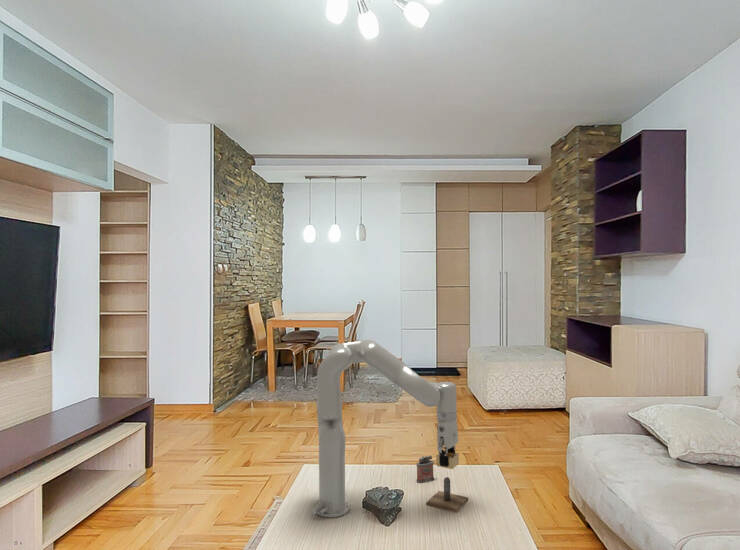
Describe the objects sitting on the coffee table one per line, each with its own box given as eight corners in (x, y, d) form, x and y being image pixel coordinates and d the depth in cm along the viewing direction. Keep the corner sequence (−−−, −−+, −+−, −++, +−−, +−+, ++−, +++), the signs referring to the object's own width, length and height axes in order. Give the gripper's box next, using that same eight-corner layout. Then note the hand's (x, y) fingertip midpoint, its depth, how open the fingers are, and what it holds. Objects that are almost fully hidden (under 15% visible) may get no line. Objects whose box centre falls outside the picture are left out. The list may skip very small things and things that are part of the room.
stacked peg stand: (456, 512, 179) (456, 486, 179) (426, 505, 185) (425, 479, 185) (467, 500, 189) (467, 475, 189) (438, 493, 195) (438, 469, 195)
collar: (452, 469, 183) (452, 458, 183) (436, 466, 186) (436, 455, 186) (458, 463, 188) (458, 453, 188) (443, 460, 192) (442, 450, 192)
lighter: (419, 483, 205) (419, 459, 205) (415, 480, 208) (414, 457, 208) (435, 480, 208) (435, 456, 209) (430, 477, 211) (430, 453, 212)
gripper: (447, 422, 178) (448, 472, 178) (464, 411, 193) (465, 457, 193) (428, 419, 182) (428, 468, 182) (446, 409, 197) (447, 454, 196)
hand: (447, 462), depth 187 cm, fingers closed on collar, 6 cm apart
